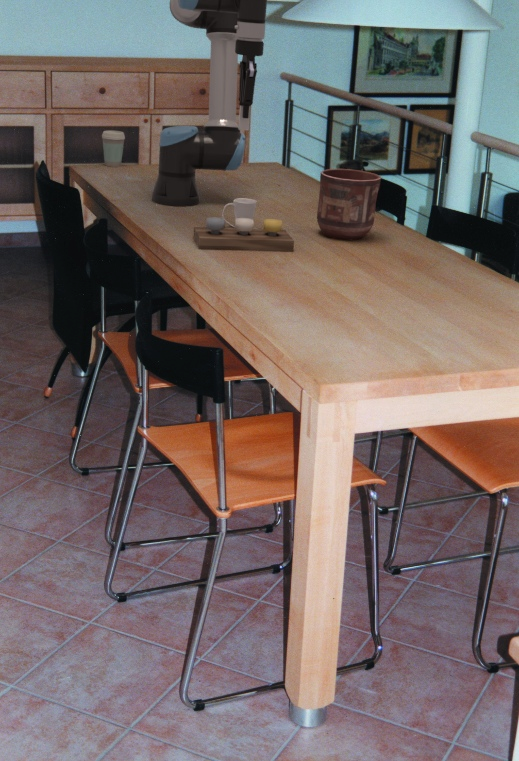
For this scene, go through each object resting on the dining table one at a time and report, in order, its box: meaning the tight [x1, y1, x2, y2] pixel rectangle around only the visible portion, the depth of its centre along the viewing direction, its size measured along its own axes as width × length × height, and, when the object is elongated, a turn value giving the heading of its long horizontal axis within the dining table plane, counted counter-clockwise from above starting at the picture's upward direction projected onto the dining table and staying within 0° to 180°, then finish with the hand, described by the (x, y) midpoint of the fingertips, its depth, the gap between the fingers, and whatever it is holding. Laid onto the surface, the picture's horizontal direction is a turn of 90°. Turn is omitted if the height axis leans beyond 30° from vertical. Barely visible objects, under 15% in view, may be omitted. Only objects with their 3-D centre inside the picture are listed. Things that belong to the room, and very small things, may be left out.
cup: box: [221, 197, 258, 228], centre depth 287 cm, size 7×10×8 cm
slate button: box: [205, 216, 226, 235], centre depth 268 cm, size 5×5×5 cm
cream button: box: [234, 218, 255, 235], centre depth 270 cm, size 5×5×5 cm
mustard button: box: [262, 218, 283, 236], centre depth 271 cm, size 5×5×5 cm
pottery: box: [316, 168, 382, 241], centre depth 287 cm, size 18×18×18 cm
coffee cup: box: [101, 130, 126, 168], centre depth 359 cm, size 8×9×12 cm
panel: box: [193, 226, 295, 252], centre depth 271 cm, size 12×26×3 cm, turn 101°
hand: (243, 129), depth 270 cm, fingers closed
